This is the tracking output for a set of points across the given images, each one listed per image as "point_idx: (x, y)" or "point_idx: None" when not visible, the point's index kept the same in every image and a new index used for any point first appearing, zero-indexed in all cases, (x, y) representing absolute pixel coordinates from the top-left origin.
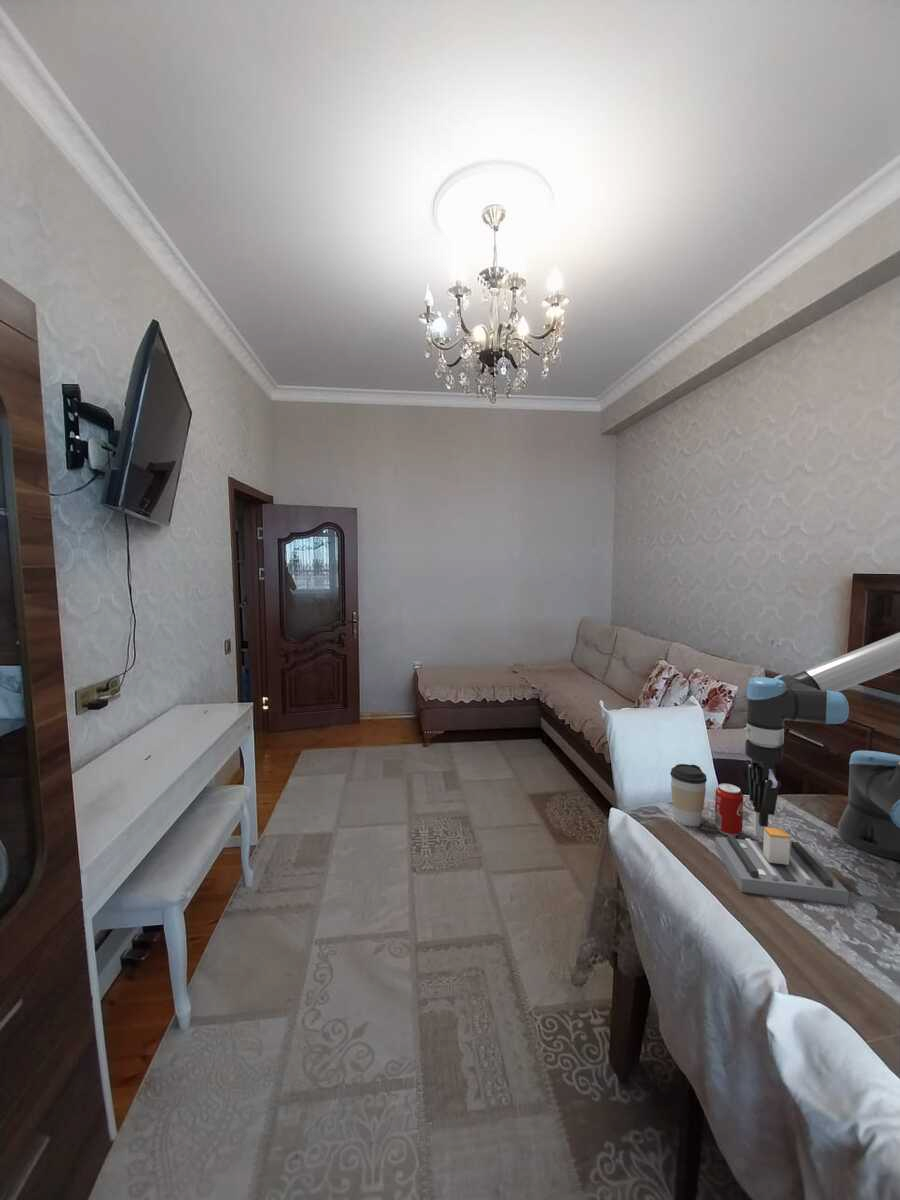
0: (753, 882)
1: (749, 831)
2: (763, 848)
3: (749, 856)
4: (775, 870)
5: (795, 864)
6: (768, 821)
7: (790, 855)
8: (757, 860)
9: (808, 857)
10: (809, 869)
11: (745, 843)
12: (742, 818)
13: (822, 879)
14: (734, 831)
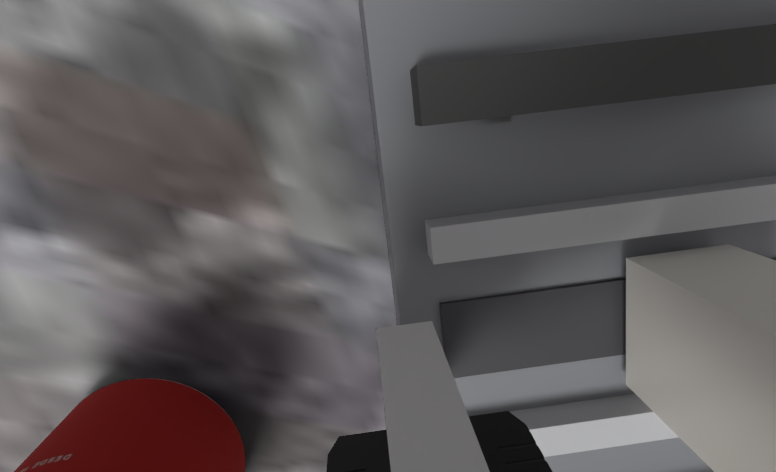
0: None
1: (94, 303)
2: (660, 414)
3: (636, 457)
4: None
5: (758, 208)
6: (467, 414)
7: (636, 204)
8: None
9: (674, 70)
10: (728, 99)
11: None
12: (127, 450)
13: None
14: (237, 452)
